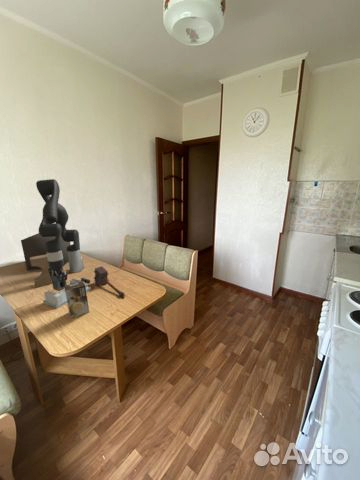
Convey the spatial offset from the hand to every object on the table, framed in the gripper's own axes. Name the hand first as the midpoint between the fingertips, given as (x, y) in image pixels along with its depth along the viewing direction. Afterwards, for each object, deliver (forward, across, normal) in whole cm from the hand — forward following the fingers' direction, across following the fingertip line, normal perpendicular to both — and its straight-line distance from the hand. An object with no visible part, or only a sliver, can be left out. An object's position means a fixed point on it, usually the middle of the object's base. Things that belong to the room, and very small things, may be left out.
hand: (60, 285), depth 117 cm
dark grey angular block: (+9, +61, -34) cm, 70 cm away
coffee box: (+9, -20, +5) cm, 23 cm away
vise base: (+9, 0, -4) cm, 10 cm away
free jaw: (+7, 0, -14) cm, 15 cm away
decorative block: (+9, +29, -8) cm, 31 cm away
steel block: (+2, 0, 0) cm, 2 cm away
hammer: (+9, -17, -22) cm, 29 cm away
